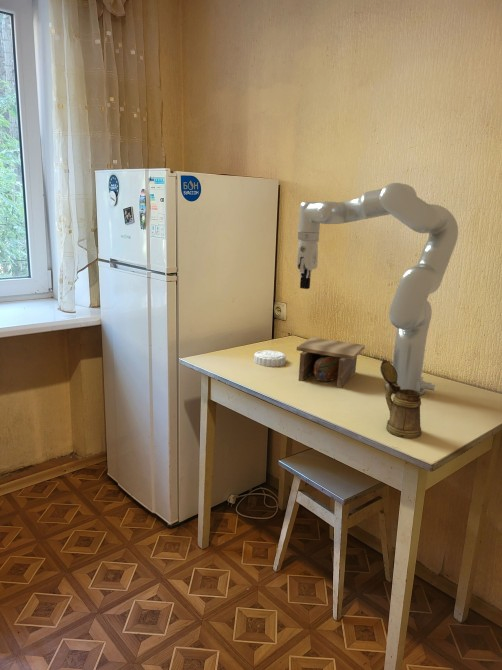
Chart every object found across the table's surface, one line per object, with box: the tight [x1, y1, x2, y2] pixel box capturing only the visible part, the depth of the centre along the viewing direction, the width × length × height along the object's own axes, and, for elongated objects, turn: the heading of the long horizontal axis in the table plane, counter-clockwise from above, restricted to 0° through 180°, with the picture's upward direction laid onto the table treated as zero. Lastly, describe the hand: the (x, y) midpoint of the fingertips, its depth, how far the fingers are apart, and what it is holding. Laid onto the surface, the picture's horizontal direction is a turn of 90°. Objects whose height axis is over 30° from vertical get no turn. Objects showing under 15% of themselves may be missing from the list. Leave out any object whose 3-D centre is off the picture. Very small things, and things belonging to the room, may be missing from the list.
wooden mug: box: [379, 359, 422, 439], centre depth 137 cm, size 9×14×18 cm, turn 40°
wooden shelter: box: [296, 336, 366, 389], centre depth 180 cm, size 20×20×11 cm
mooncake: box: [253, 349, 287, 368], centre depth 195 cm, size 12×12×4 cm
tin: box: [313, 356, 341, 383], centre depth 177 cm, size 15×3×8 cm, turn 128°
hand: (304, 288), depth 187 cm, fingers closed
